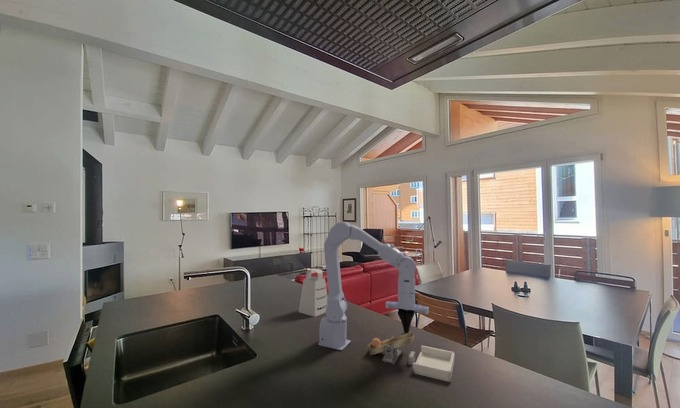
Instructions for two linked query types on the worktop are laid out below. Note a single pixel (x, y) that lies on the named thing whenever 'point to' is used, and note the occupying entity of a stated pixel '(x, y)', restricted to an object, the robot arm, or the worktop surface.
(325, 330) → the robot arm
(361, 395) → the worktop surface
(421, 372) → the dish
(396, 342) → the lever
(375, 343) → the egg
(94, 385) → the worktop surface
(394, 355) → the pivot base
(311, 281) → the grater
